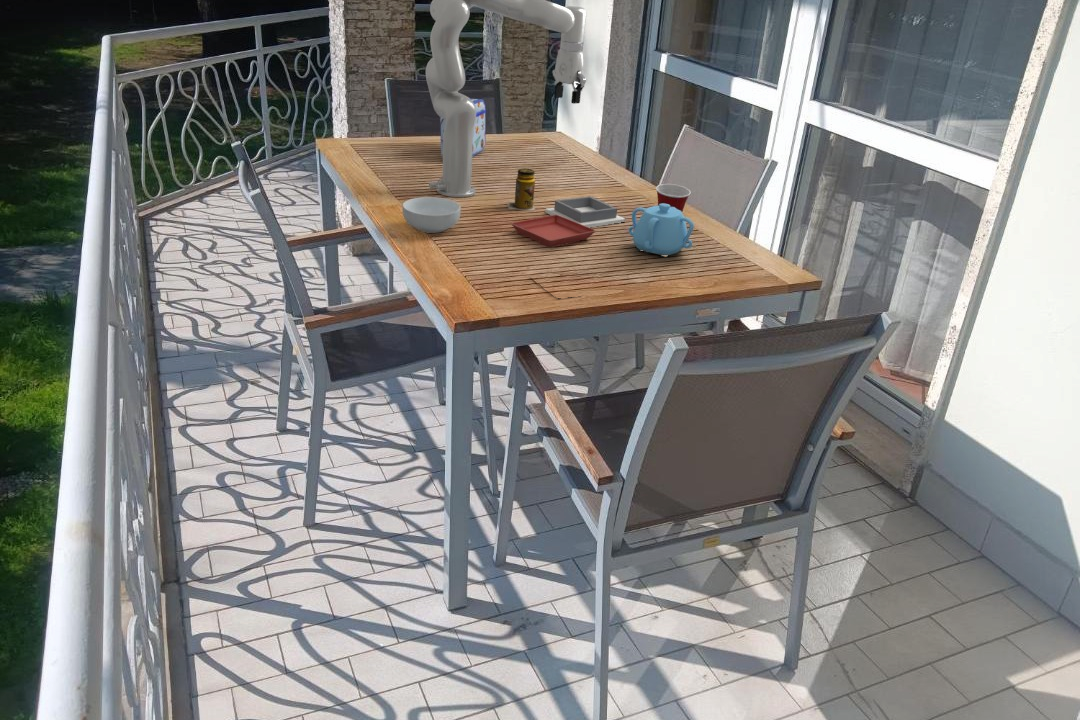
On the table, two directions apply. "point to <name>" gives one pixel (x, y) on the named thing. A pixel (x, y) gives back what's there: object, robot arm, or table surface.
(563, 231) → the plant saucer
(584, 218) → the holder
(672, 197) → the plastic cup
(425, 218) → the cereal bowl
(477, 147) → the lunch box
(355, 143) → the table surface
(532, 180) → the condiment
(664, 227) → the decorative pot
